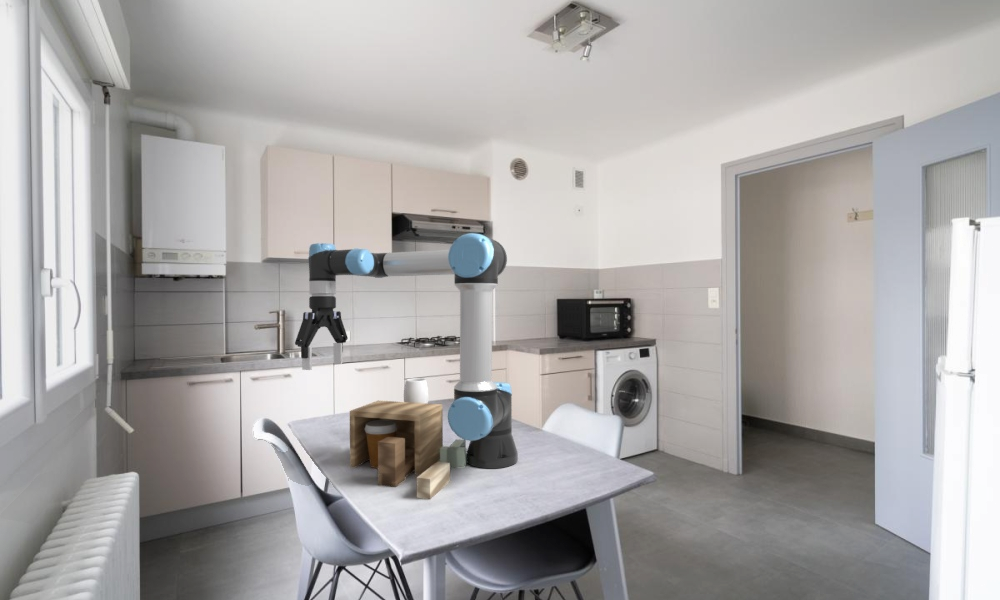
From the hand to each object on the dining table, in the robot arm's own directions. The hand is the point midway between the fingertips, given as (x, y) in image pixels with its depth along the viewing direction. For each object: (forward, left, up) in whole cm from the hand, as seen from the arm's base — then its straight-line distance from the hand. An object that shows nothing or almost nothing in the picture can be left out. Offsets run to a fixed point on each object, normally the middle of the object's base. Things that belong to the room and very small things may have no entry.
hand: (323, 366), depth 144 cm
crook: (-24, +2, -28) cm, 36 cm away
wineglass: (-19, -23, -28) cm, 41 cm away
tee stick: (-39, -10, -28) cm, 49 cm away
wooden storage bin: (-23, -4, -28) cm, 36 cm away
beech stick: (-42, +12, -28) cm, 51 cm away
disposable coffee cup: (-19, -1, -28) cm, 34 cm away
